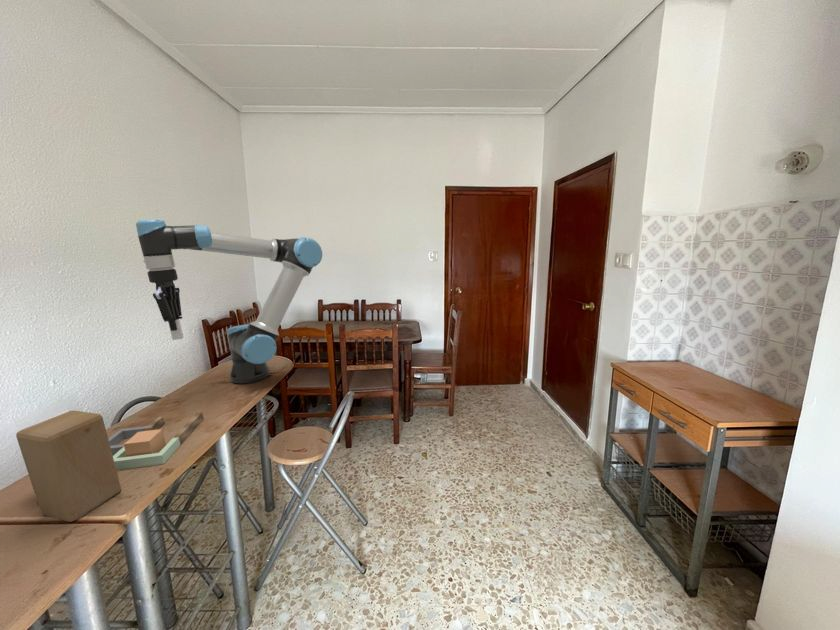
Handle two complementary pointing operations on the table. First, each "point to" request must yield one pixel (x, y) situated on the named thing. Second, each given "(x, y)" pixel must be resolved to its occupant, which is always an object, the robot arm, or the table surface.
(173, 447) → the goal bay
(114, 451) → the trap bay
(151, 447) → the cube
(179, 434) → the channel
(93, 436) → the wooden block
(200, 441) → the table surface
